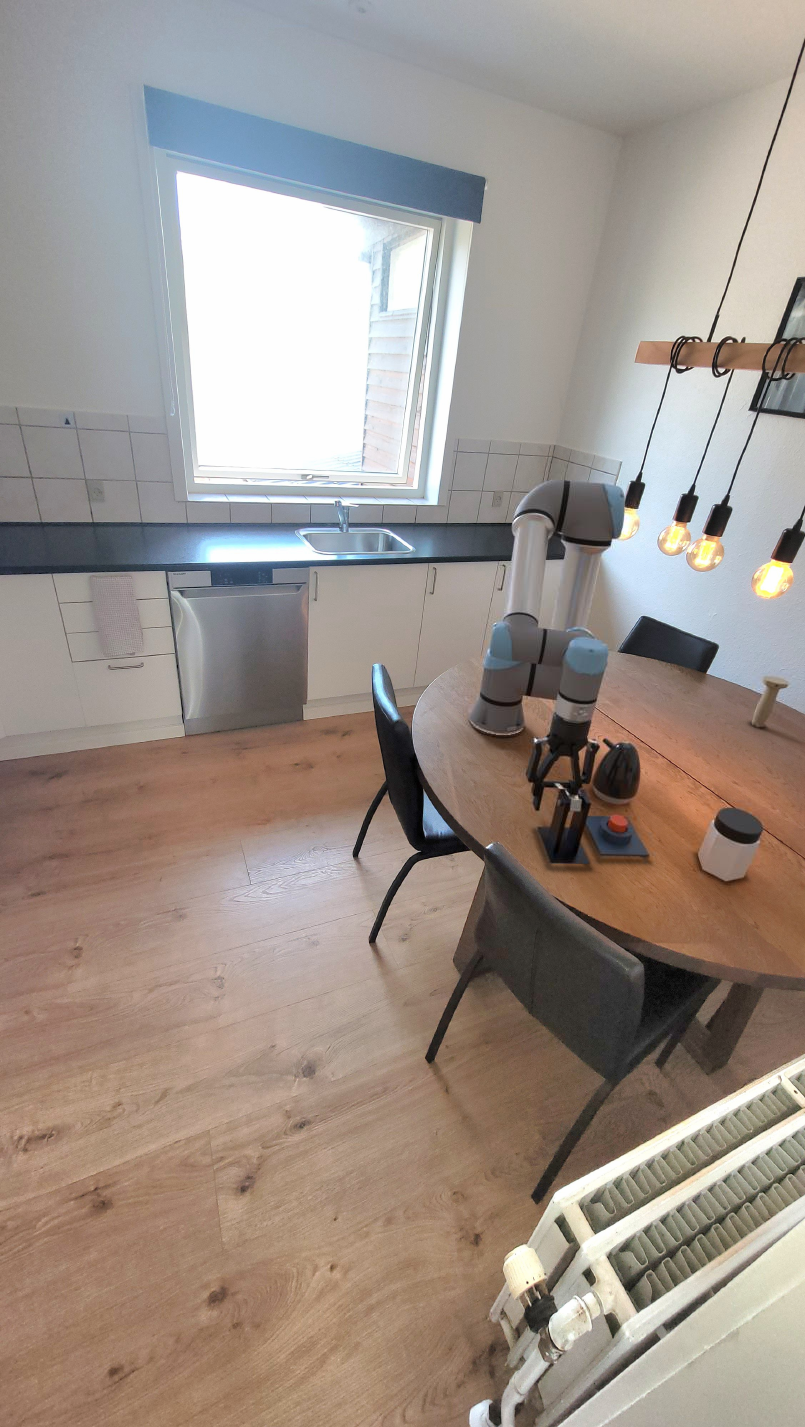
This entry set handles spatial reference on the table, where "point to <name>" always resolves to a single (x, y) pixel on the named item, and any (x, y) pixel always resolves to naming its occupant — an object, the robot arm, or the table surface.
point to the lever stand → (566, 831)
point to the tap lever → (558, 785)
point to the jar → (730, 844)
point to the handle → (768, 699)
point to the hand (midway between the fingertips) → (550, 807)
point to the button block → (614, 838)
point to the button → (618, 823)
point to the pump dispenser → (617, 773)
